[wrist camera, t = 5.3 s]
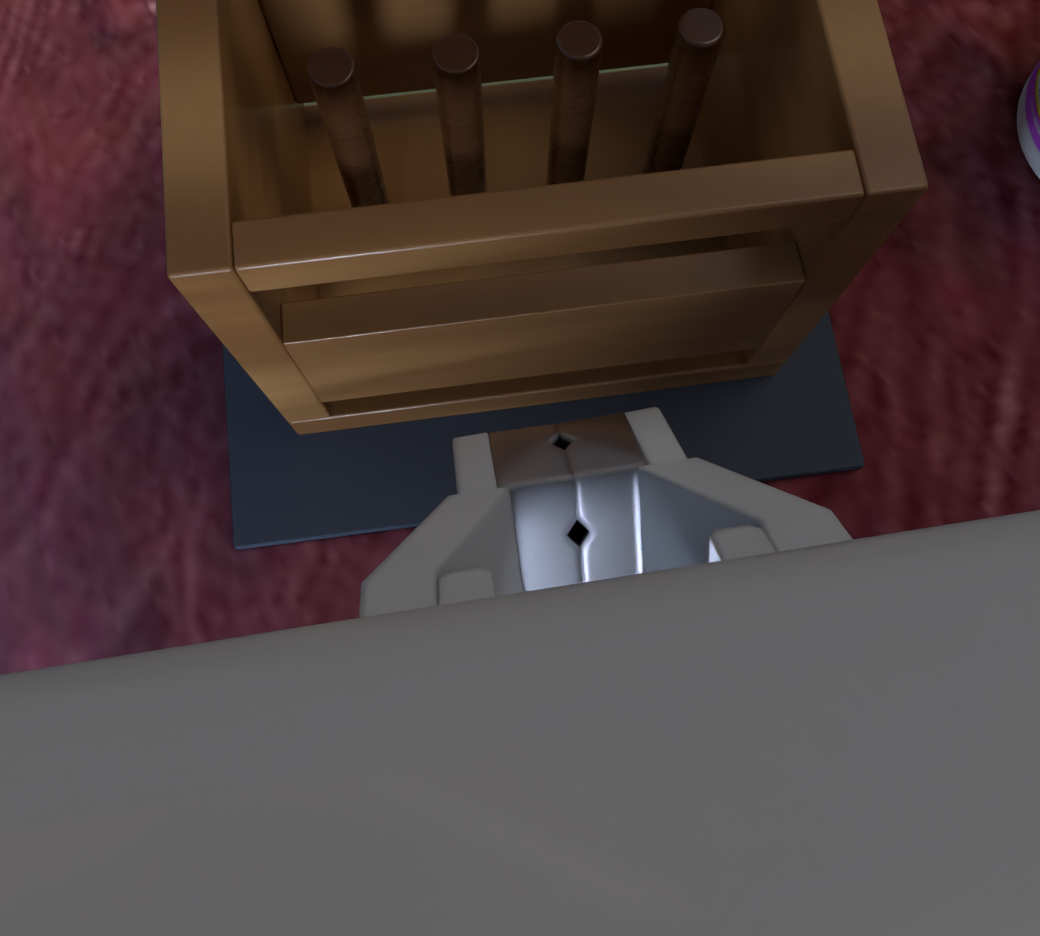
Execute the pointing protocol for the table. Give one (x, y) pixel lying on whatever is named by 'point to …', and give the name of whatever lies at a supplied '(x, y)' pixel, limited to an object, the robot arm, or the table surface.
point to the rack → (521, 192)
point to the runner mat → (428, 442)
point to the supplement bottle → (1030, 120)
